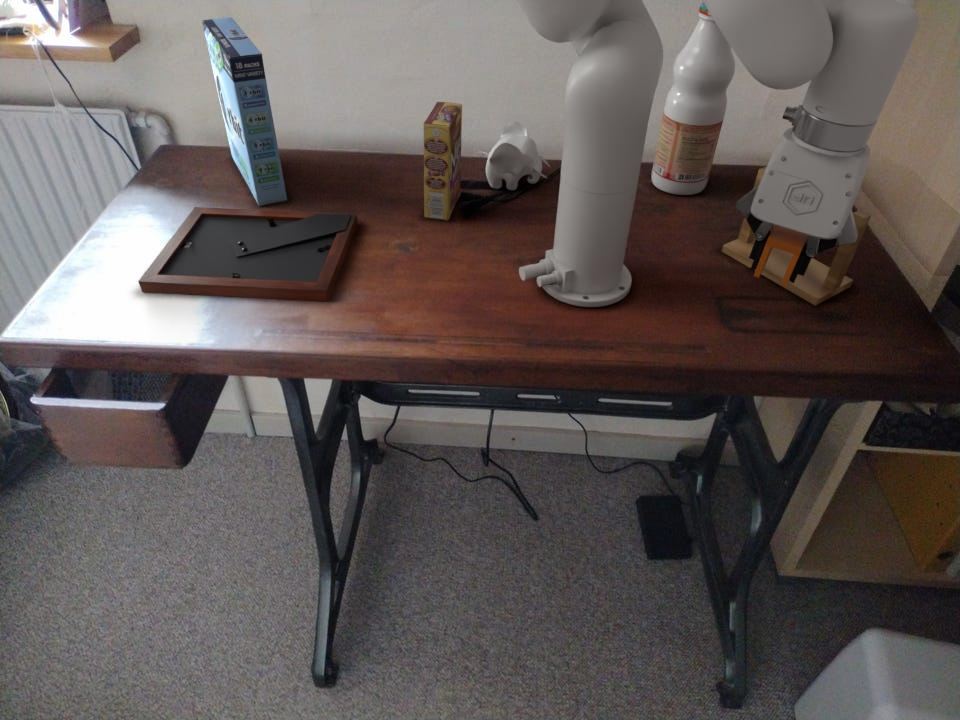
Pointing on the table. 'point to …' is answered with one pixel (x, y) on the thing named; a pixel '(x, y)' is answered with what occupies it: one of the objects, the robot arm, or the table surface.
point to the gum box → (246, 108)
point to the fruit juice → (694, 110)
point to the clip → (785, 242)
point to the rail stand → (818, 276)
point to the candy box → (442, 160)
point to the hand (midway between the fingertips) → (774, 269)
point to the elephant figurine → (513, 158)
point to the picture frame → (253, 254)
